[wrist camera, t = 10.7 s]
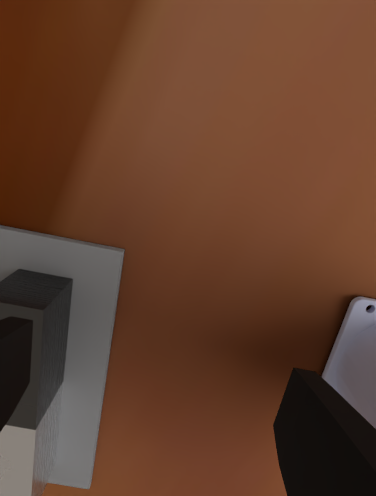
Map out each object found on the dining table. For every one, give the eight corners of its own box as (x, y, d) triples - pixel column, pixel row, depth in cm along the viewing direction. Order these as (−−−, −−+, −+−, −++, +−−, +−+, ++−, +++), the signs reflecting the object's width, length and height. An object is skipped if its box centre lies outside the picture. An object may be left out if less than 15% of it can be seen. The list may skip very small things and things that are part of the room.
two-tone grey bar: (73, 278, 18) (43, 310, 14) (55, 463, 22) (29, 522, 18) (19, 268, 18) (-24, 298, 14) (11, 456, 22) (-23, 514, 18)
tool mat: (124, 249, 18) (122, 252, 17) (91, 482, 23) (89, 489, 22) (-21, 220, 17) (-27, 223, 17) (-21, 463, 23) (-25, 470, 22)
